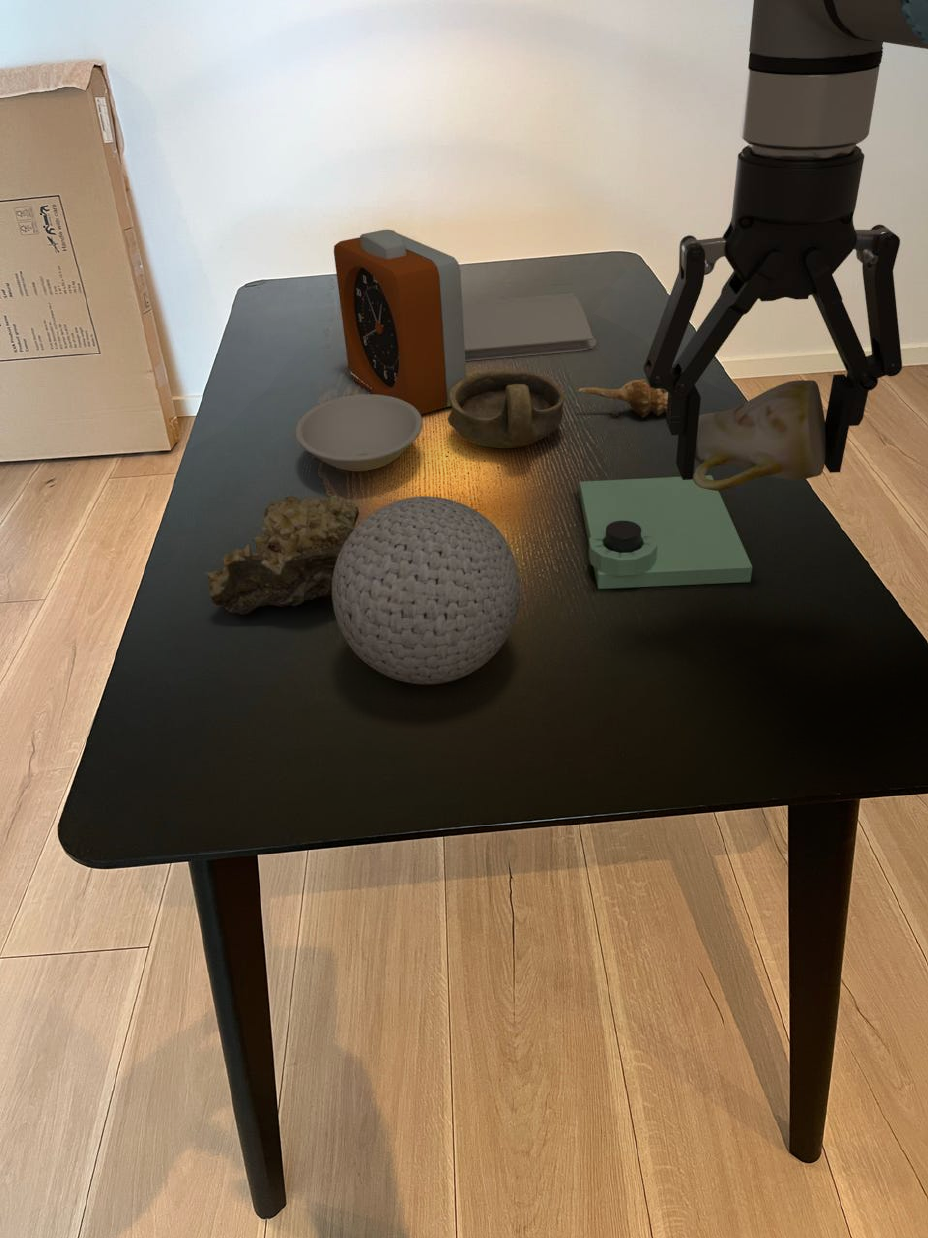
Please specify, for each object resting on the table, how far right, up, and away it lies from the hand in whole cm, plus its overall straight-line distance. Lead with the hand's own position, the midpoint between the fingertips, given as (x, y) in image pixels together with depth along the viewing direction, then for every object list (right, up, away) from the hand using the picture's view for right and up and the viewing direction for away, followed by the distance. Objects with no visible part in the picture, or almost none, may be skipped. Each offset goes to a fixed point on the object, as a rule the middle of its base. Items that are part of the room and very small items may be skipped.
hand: (756, 467), depth 73 cm
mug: (0, 0, 0) cm, 1 cm away
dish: (-34, +7, +40) cm, 53 cm away
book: (-15, +30, +71) cm, 79 cm away
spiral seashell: (-1, +14, +47) cm, 49 cm away
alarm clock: (-30, +19, +57) cm, 67 cm away
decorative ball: (-25, -15, +9) cm, 30 cm away
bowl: (-17, +9, +42) cm, 46 cm away
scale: (-3, -3, +24) cm, 24 cm away
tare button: (-7, -5, +17) cm, 19 cm away
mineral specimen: (-38, -8, +20) cm, 43 cm away
